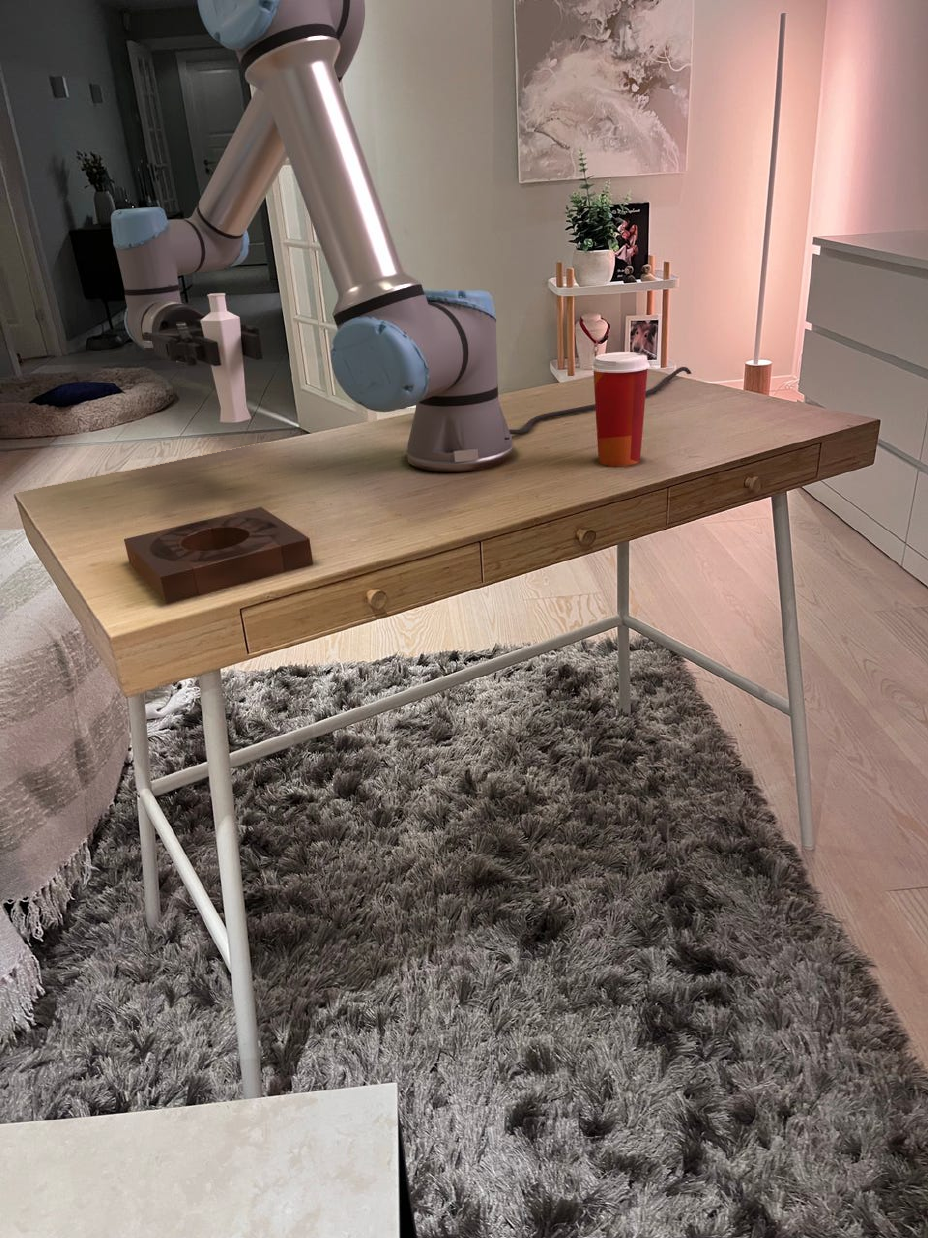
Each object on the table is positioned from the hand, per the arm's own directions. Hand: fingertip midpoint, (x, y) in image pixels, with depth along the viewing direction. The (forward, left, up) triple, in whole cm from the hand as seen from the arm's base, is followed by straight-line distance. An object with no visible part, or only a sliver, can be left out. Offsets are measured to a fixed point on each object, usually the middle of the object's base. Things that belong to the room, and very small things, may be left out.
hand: (237, 350), depth 110 cm
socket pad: (+11, +15, -20) cm, 27 cm away
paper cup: (-46, +15, -20) cm, 52 cm away
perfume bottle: (0, -5, -9) cm, 11 cm away
